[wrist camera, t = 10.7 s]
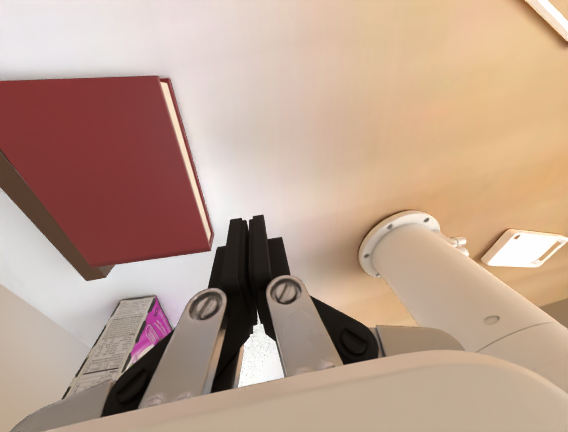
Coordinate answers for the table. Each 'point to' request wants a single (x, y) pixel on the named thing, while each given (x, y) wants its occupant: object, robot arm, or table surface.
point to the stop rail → (45, 220)
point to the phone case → (522, 248)
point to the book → (108, 164)
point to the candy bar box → (122, 342)
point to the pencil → (550, 16)
